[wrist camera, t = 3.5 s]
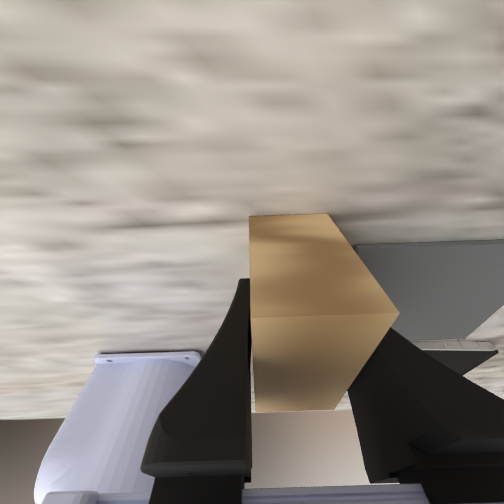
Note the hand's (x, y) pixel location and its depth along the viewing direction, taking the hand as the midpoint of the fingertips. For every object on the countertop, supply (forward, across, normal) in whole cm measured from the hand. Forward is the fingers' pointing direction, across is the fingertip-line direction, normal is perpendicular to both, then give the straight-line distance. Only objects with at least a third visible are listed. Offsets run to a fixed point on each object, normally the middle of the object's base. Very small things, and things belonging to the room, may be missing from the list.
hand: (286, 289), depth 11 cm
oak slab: (+1, 0, 0) cm, 1 cm away
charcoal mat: (+1, -10, +3) cm, 11 cm away
